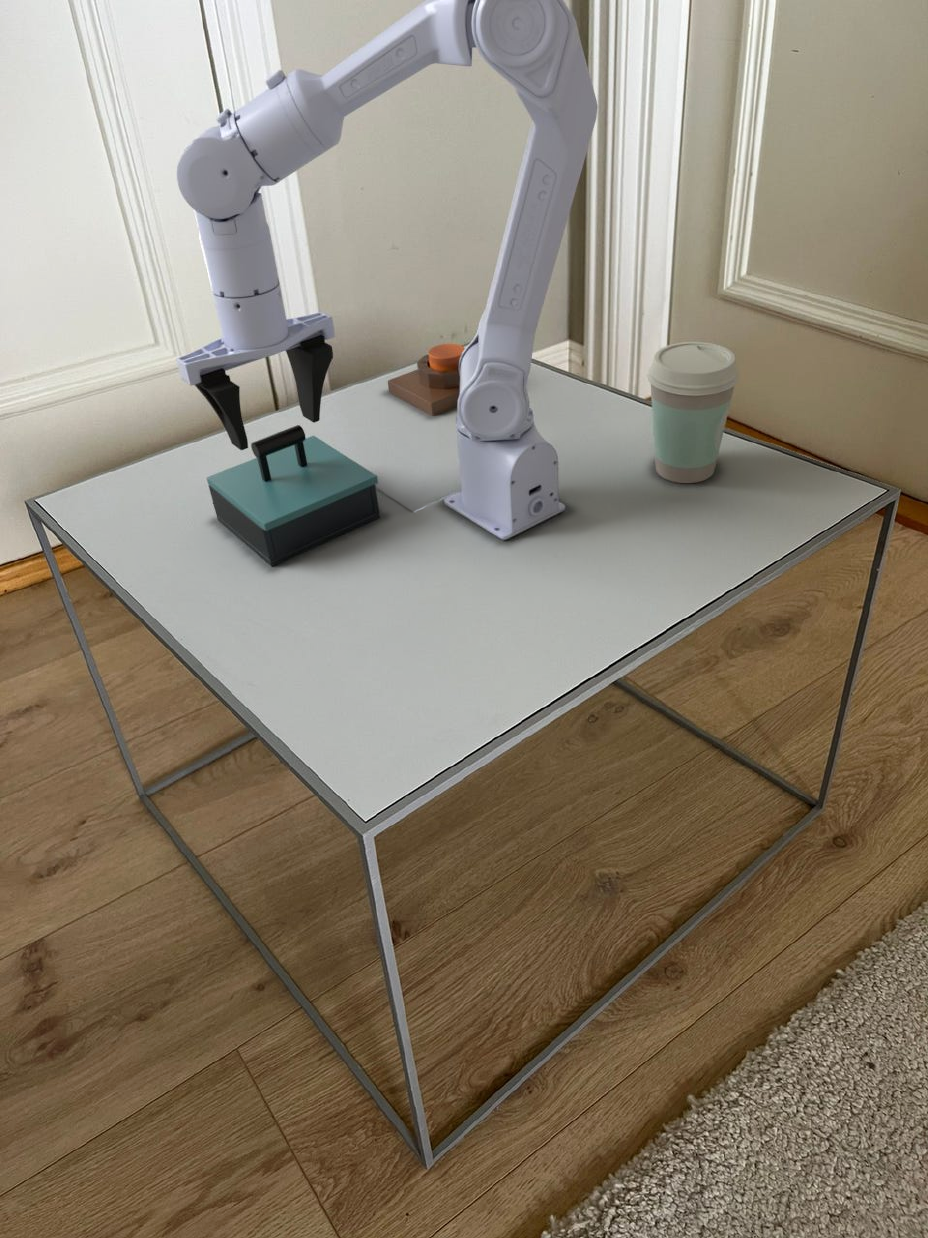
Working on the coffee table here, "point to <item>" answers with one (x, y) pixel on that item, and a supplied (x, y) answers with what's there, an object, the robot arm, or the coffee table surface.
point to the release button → (445, 357)
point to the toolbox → (290, 478)
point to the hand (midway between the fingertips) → (276, 431)
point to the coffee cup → (690, 407)
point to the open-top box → (299, 525)
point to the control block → (427, 388)
